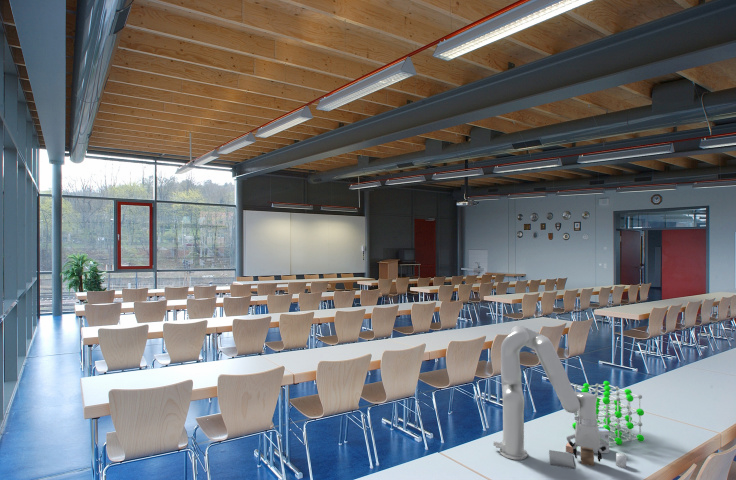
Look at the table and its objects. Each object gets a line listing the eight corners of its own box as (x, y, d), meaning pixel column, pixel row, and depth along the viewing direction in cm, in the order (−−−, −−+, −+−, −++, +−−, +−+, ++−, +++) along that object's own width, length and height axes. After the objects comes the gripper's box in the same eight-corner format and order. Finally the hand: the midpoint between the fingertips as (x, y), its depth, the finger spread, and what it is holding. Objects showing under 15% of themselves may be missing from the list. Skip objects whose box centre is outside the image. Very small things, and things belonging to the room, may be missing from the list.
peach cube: (565, 451, 214) (565, 445, 214) (567, 448, 217) (567, 442, 217) (574, 454, 212) (574, 447, 212) (576, 450, 215) (576, 444, 215)
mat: (550, 464, 201) (550, 463, 201) (549, 451, 214) (549, 449, 214) (574, 468, 197) (574, 467, 197) (571, 455, 210) (571, 453, 210)
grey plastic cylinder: (616, 467, 199) (616, 456, 199) (615, 463, 203) (615, 452, 203) (627, 468, 197) (627, 457, 197) (625, 464, 201) (625, 453, 201)
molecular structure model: (606, 448, 218) (606, 398, 218) (570, 428, 242) (570, 383, 242) (646, 442, 224) (645, 394, 225) (607, 423, 248) (606, 379, 249)
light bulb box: (602, 447, 219) (602, 425, 219) (610, 453, 212) (609, 430, 212) (580, 447, 218) (580, 425, 219) (588, 453, 212) (587, 431, 212)
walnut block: (581, 464, 202) (581, 451, 202) (580, 459, 206) (580, 446, 206) (594, 466, 200) (593, 452, 200) (592, 461, 204) (592, 448, 205)
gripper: (566, 421, 203) (567, 459, 203) (609, 426, 197) (609, 465, 196) (565, 415, 210) (566, 451, 210) (606, 420, 204) (607, 458, 203)
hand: (587, 458), depth 203 cm, fingers open, 9 cm apart
